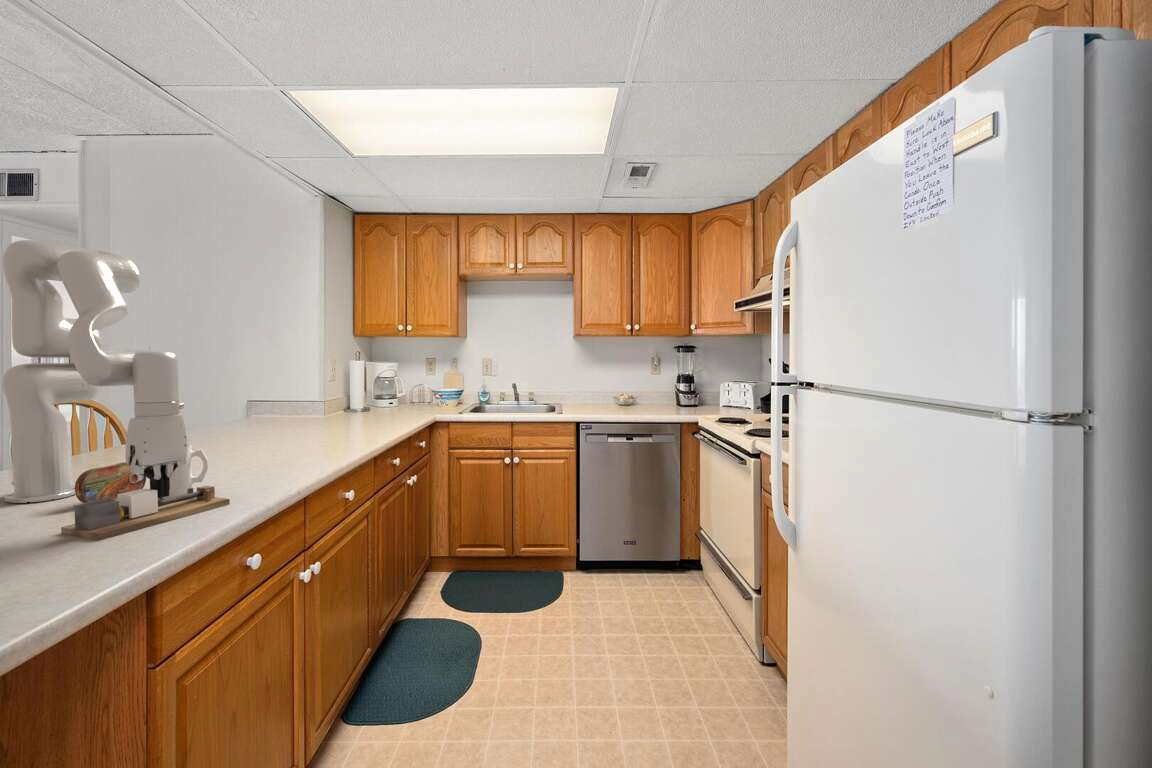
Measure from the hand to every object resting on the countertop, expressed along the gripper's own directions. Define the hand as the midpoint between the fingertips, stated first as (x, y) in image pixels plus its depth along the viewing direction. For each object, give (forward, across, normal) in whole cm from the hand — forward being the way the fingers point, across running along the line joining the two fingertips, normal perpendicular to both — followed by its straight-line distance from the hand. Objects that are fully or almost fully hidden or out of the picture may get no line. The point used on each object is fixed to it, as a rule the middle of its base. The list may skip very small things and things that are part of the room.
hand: (160, 496), depth 117 cm
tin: (+4, -4, -23) cm, 24 cm away
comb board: (+4, +2, 0) cm, 4 cm away
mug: (+4, -14, -12) cm, 19 cm away
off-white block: (+3, +4, 0) cm, 5 cm away
